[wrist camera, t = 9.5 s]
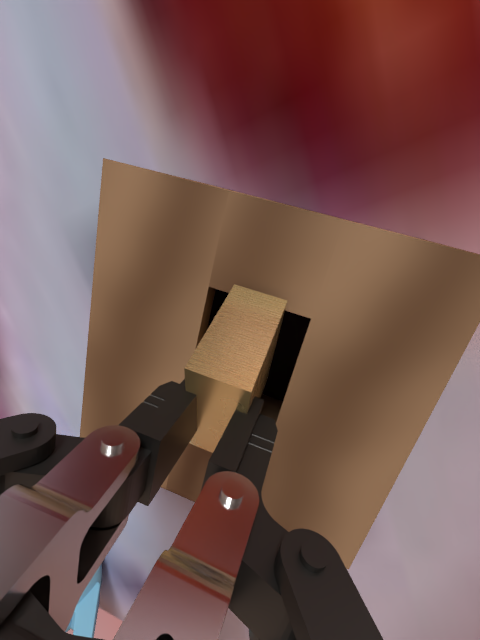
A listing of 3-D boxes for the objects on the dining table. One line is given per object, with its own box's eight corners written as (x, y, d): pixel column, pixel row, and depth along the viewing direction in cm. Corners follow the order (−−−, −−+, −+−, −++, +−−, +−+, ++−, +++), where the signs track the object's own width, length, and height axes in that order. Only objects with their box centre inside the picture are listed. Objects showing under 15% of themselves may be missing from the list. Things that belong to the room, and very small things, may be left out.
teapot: (63, 467, 33) (-53, 574, 23) (143, 583, 35) (67, 727, 25) (-20, 502, 39) (-142, 599, 29) (53, 600, 41) (-38, 723, 31)
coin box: (427, 240, 19) (511, 262, 10) (343, 434, 24) (348, 569, 15) (202, 182, 22) (103, 158, 12) (168, 369, 26) (78, 450, 17)
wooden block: (287, 300, 12) (251, 392, 9) (267, 380, 15) (236, 462, 13) (234, 284, 12) (184, 368, 9) (226, 365, 16) (188, 443, 13)
